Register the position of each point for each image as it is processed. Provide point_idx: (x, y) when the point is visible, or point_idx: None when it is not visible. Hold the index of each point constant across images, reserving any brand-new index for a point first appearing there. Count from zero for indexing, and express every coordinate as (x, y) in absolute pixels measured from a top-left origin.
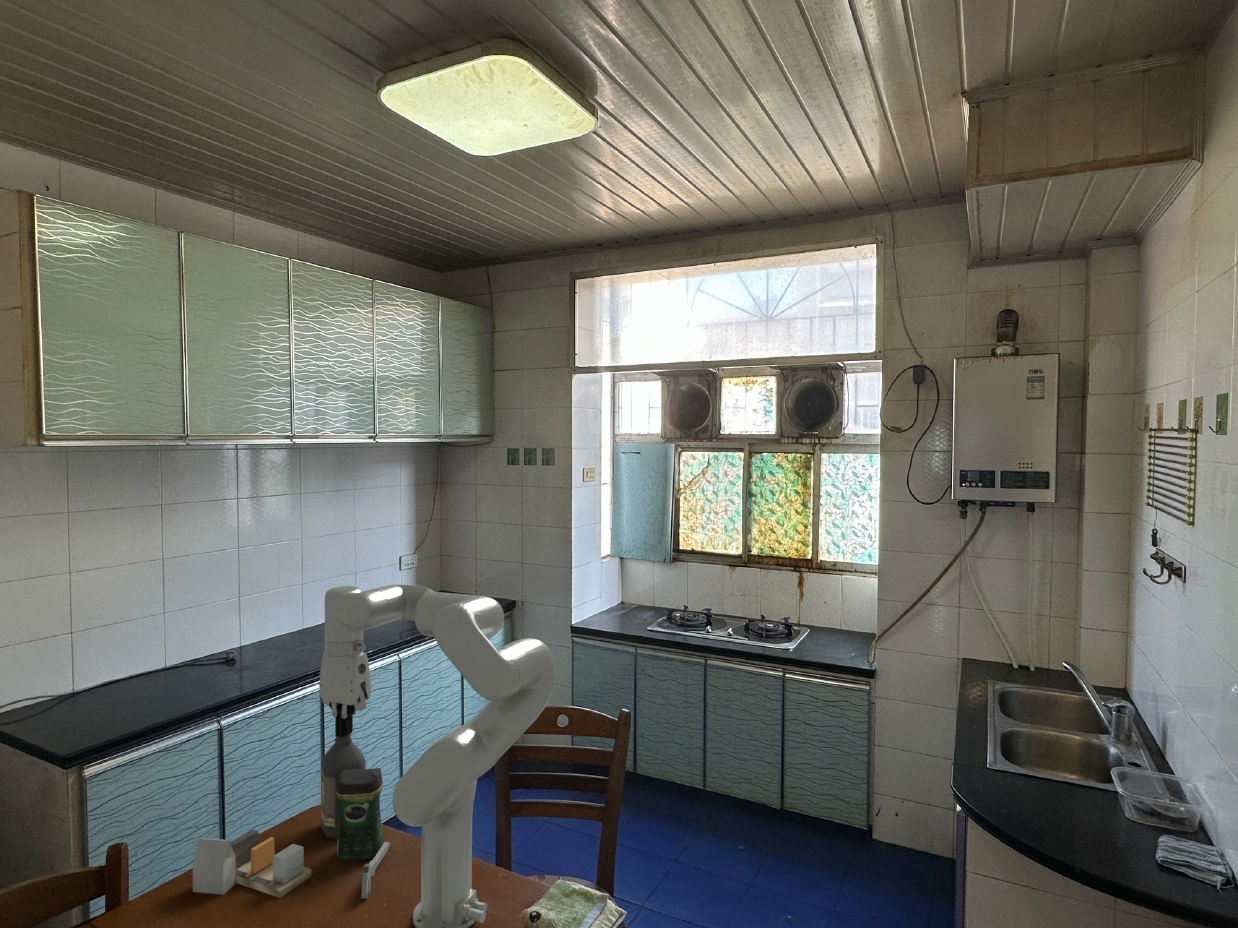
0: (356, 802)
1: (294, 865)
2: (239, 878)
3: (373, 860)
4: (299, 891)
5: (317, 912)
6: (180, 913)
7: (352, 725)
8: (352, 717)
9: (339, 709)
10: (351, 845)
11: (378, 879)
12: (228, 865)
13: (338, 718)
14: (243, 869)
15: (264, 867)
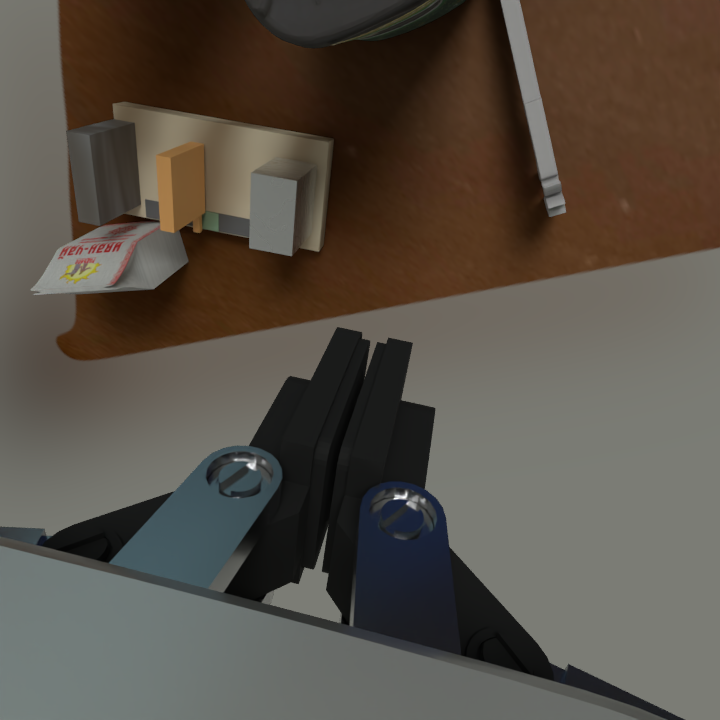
0: (395, 23)
1: (305, 206)
2: None
3: (523, 82)
4: (352, 210)
5: (453, 274)
6: (168, 332)
7: (404, 376)
8: (390, 431)
9: (233, 582)
10: (400, 32)
11: (549, 97)
12: (152, 265)
13: (306, 567)
14: (157, 192)
15: (204, 179)
